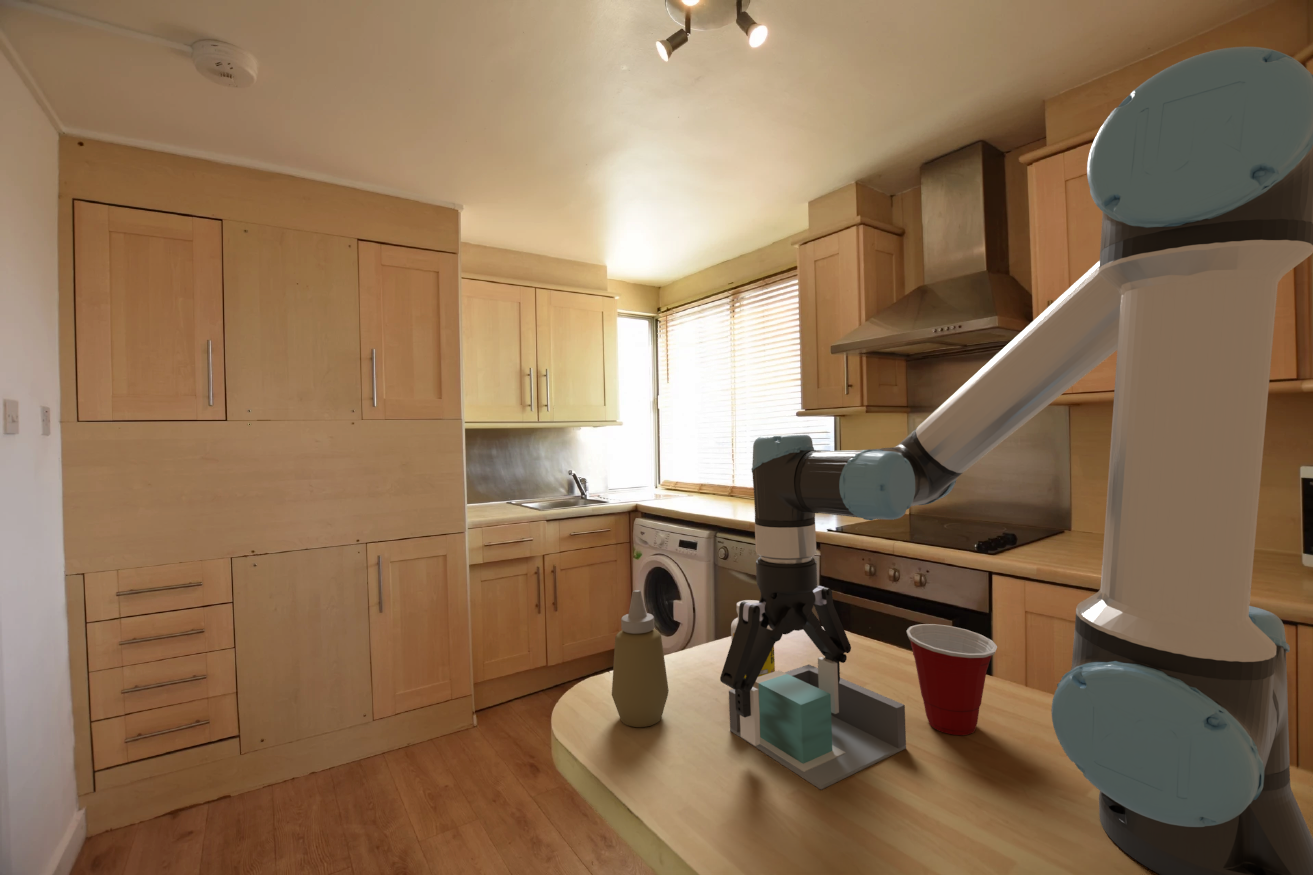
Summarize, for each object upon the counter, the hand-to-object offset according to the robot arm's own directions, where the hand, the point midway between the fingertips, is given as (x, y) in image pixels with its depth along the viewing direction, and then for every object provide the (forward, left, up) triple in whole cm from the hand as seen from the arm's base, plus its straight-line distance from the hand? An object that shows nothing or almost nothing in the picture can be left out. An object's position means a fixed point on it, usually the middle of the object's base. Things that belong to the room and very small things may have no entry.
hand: (791, 724), depth 75 cm
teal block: (0, 0, -2) cm, 2 cm away
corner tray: (0, -3, -3) cm, 4 cm away
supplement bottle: (+17, -8, -3) cm, 19 cm away
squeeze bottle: (+18, +12, -3) cm, 21 cm away
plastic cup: (-8, -21, -3) cm, 23 cm away
